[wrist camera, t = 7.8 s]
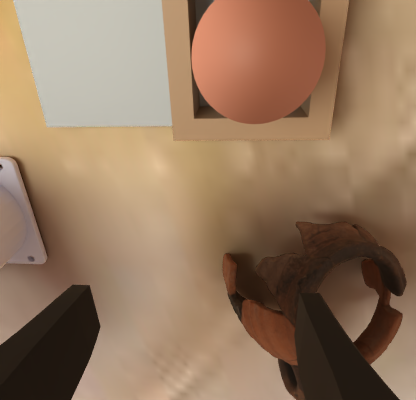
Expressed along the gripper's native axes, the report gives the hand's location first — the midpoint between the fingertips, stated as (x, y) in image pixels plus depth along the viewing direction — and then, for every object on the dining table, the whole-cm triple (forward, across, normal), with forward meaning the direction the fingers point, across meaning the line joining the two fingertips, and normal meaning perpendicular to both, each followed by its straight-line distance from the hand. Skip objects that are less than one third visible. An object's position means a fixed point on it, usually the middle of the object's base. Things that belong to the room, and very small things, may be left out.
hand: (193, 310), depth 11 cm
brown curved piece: (+10, -6, +7) cm, 13 cm away
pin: (+9, -2, -8) cm, 12 cm away
